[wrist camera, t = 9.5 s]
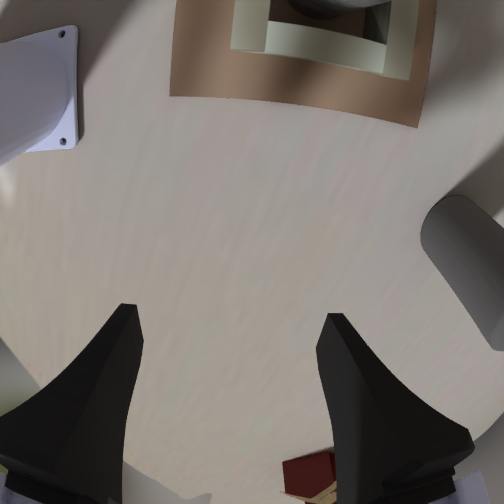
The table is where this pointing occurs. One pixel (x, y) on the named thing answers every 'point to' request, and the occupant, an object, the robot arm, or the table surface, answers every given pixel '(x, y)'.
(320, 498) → the toy houses
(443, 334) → the table surface
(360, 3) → the peg
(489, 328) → the bottle
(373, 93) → the socket
